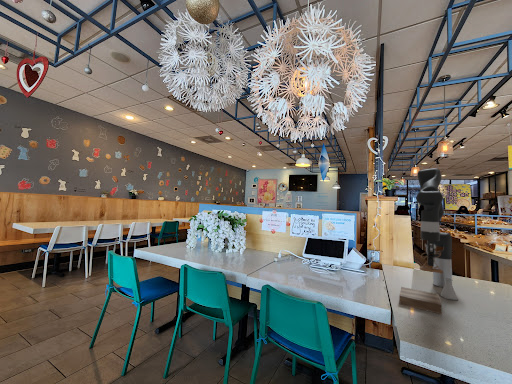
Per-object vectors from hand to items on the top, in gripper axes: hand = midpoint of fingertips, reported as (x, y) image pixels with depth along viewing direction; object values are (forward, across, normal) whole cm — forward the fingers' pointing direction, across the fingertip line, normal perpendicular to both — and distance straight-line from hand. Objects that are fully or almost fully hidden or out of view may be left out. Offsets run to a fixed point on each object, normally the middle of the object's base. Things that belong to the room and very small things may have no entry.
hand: (430, 265), depth 109 cm
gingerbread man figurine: (+3, 0, 0) cm, 3 cm away
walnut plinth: (+19, +1, -5) cm, 20 cm away
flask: (+19, -19, +9) cm, 29 cm away
